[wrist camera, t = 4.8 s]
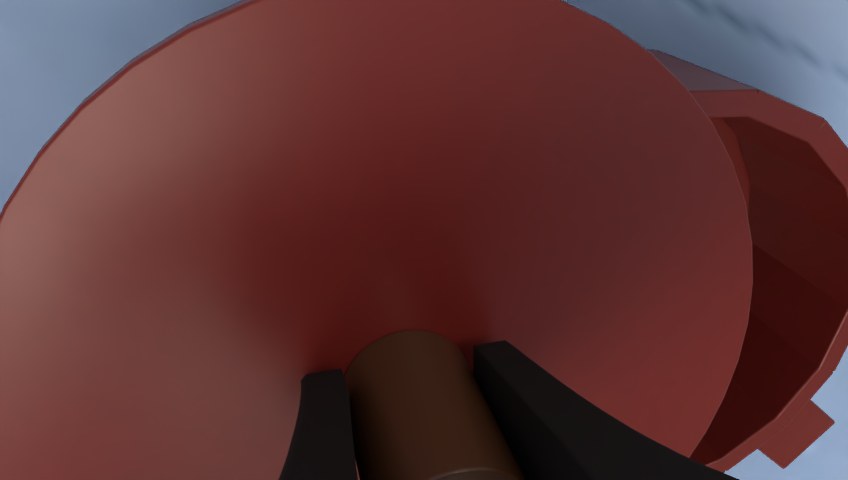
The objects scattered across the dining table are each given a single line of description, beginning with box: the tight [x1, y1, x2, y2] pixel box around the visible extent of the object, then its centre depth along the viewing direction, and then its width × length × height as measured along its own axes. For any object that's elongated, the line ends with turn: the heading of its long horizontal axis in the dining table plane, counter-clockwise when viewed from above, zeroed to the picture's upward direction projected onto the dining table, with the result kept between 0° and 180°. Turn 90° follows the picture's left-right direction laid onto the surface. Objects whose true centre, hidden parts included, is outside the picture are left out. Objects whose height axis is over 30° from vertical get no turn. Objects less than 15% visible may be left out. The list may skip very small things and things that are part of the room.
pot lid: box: [0, 0, 753, 480], centre depth 12 cm, size 14×14×5 cm
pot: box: [648, 50, 848, 473], centre depth 23 cm, size 13×19×5 cm
